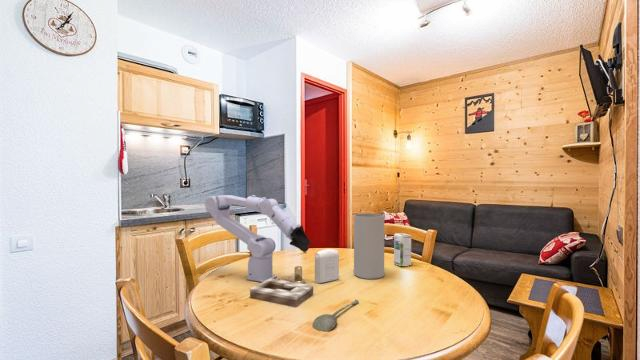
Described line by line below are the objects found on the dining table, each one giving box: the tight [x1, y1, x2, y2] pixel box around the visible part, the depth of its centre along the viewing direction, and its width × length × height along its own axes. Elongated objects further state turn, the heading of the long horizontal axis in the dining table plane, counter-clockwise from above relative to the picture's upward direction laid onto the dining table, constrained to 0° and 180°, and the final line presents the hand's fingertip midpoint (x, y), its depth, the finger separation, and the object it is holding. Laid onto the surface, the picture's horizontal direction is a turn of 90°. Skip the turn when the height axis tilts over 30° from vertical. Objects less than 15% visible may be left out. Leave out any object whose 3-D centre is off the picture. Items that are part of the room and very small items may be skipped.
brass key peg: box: [291, 265, 306, 284], centre depth 120 cm, size 5×5×6 cm
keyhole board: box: [249, 278, 314, 308], centre depth 107 cm, size 18×12×3 cm, turn 64°
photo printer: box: [314, 248, 340, 284], centre depth 122 cm, size 10×4×12 cm, turn 123°
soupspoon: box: [312, 299, 360, 333], centre depth 91 cm, size 22×3×7 cm
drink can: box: [393, 232, 412, 267], centre depth 143 cm, size 6×6×14 cm
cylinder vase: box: [353, 212, 385, 280], centre depth 129 cm, size 12×12×25 cm
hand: (307, 247), depth 117 cm, fingers open, 7 cm apart
